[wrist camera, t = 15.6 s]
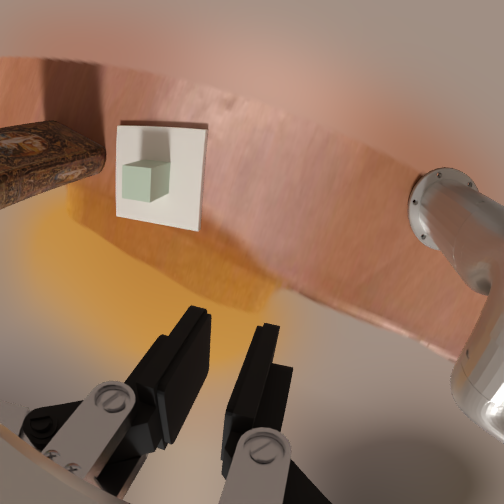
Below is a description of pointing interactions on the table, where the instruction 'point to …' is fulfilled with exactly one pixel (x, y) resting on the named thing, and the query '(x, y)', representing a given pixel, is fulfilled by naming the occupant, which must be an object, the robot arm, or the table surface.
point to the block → (145, 180)
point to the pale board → (181, 173)
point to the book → (44, 159)
